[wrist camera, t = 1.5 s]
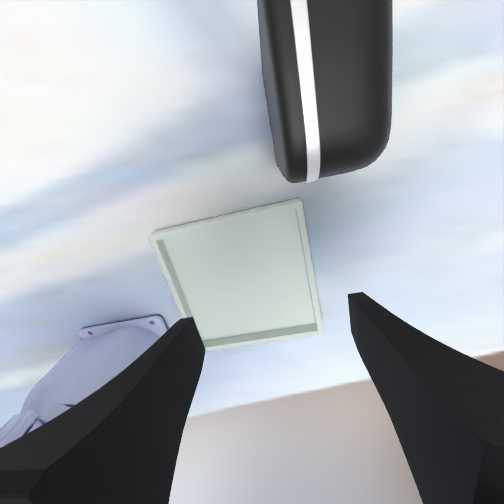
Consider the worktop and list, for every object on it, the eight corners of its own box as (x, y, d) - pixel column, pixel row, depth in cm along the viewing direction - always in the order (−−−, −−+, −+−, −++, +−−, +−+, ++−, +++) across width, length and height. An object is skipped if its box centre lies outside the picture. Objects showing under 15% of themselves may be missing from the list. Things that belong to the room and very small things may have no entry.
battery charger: (328, 161, 18) (413, 172, 8) (277, 171, 19) (291, 196, 8) (318, 47, 16) (426, -174, 5) (260, 63, 16) (247, -108, 6)
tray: (200, 341, 25) (196, 353, 24) (155, 230, 21) (147, 236, 20) (320, 323, 24) (324, 334, 22) (299, 197, 19) (301, 201, 18)
